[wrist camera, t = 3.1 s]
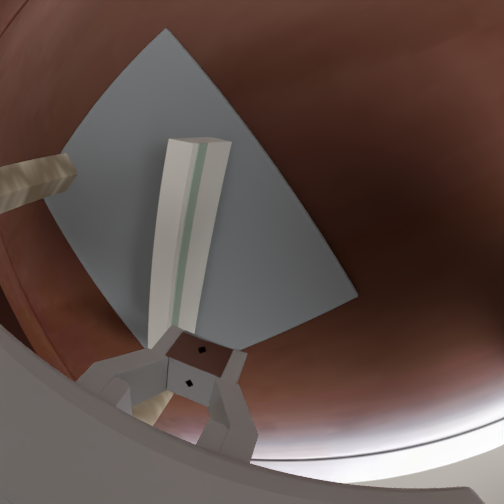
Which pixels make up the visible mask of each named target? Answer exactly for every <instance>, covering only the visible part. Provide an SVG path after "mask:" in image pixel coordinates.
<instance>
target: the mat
mask: <svg viewBox="0 0 504 504" xmlns="http://www.w3.org/2000/svg"><path fill="white" fill-rule="evenodd" d="M195 137H214V138H218V139H223V140H227V141H232V144H231V148H230V153H229V157H228V162H227V166H226V171H225V175H224V180H223V184H222V189H221V194H220V199H219V203H218V208H217V213H216V218H215V223H214V228H213V233H212V238H211V243H210V249H209V254H208V259H207V264H206V270H205V275H204V281H203V287H202V292H201V298H200V304H199V310H198V316H197V322H196V328H195V334H196V335H198V336H201V337H203V338H205V339H208V340H211V341H213V342H216V343H219V344H222V345H224V346H227V347H230V348H233V349H236V350H241V349H244V348H246V347H249V346H251V345H254V344H256V343H258V342H261V341H263V340H266V339H268V338H270V337H273V336H275V335H277V334H280V333H282V332H284V331H286V330H289V329H291V328H293V327H295V326H298V325H300V324H302V323H304V322H306V321H308V320H311V319H313V318H315V317H317V316H319V315H321V314H323V313H326V312H328V311H330V310H332V309H334V308H336V307H338V306H340V305H342V304H344V303H346V302H348V301H350V300H352V299H354V298H356V297H358V293H357V291H356V289H355V288H354V286H353V284H352V283H351V281H350V279H349V278H348V276H347V274H346V273H345V271H344V269H343V268H342V266H341V264H340V263H339V261H338V260H337V258H336V256H335V255H334V253H333V251H332V250H331V248H330V247H329V245H328V243H327V242H326V240H325V239H324V237H323V236H322V234H321V232H320V231H319V229H318V228H317V226H316V225H315V223H314V222H313V220H312V219H311V217H310V216H309V214H308V212H307V211H306V209H305V208H304V206H303V205H302V203H301V202H300V200H299V199H298V197H297V196H296V194H295V193H294V192H293V190H292V189H291V187H290V186H289V184H288V183H287V181H286V180H285V178H284V177H283V176H282V174H281V173H280V171H279V170H278V168H277V167H276V166H275V164H274V163H273V161H272V160H271V158H270V157H269V156H268V154H267V153H266V152H265V150H264V149H263V147H262V146H261V145H260V143H259V142H258V141H257V139H256V138H255V136H254V135H253V134H252V132H251V131H250V130H249V128H248V127H247V126H246V124H245V123H244V122H243V120H242V119H241V118H240V116H239V115H238V114H237V112H236V111H235V110H234V109H233V107H232V106H231V105H230V103H229V102H228V101H227V99H226V98H225V97H224V96H223V94H222V93H221V92H220V91H219V89H218V88H217V87H216V86H215V84H214V83H213V82H212V81H211V79H210V78H209V77H208V76H207V74H206V73H205V72H204V71H203V70H202V68H201V67H200V66H199V65H198V63H197V62H196V61H195V60H194V59H193V57H192V56H191V55H190V54H189V53H188V52H187V50H186V49H185V48H184V47H183V46H182V45H181V43H180V42H179V41H178V40H177V39H176V38H175V37H174V35H173V34H172V33H171V32H170V31H169V30H168V29H166V28H165V29H164V30H163V31H162V32H161V33H160V34H159V35H158V36H157V37H156V38H155V39H154V40H153V41H152V42H151V43H150V44H149V45H148V46H146V47H145V48H144V49H143V50H142V52H141V53H140V54H139V55H138V56H137V57H136V58H135V59H134V60H133V61H132V62H131V63H130V64H129V65H128V66H127V67H126V68H125V69H124V71H123V72H122V73H121V74H120V75H119V76H118V77H117V78H116V80H115V81H114V82H113V83H112V84H111V85H110V87H109V88H108V89H107V90H106V91H105V93H104V94H103V95H102V96H101V98H100V99H99V100H98V101H97V103H96V104H95V105H94V106H93V108H92V109H91V110H90V112H89V113H88V114H87V116H86V117H85V118H84V120H83V121H82V122H81V124H80V125H79V127H78V128H77V129H76V131H75V132H74V134H73V135H72V137H71V138H70V140H69V141H68V143H67V144H66V146H65V147H64V149H63V150H62V152H61V153H60V154H64V153H67V155H68V157H69V158H70V160H71V162H72V164H73V166H74V167H75V169H76V171H77V173H78V175H77V176H76V178H75V179H74V180H73V182H72V183H71V185H70V186H69V188H68V189H67V191H65V192H62V193H58V194H55V195H52V196H49V197H46V198H43V199H44V201H45V203H46V205H47V206H48V208H49V210H50V212H51V214H52V215H53V217H54V219H55V221H56V223H57V224H58V226H59V228H60V229H61V231H62V233H63V234H64V236H65V238H66V239H67V241H68V243H69V244H70V246H71V248H72V249H73V251H74V252H75V254H76V256H77V257H78V259H79V260H80V262H81V263H82V265H83V266H84V268H85V269H86V271H87V272H88V274H89V275H90V277H91V278H92V280H93V281H94V283H95V284H96V285H97V287H98V288H99V290H100V291H101V293H102V294H103V295H104V297H105V298H106V299H107V301H108V302H109V304H110V305H111V306H112V308H113V309H114V310H115V312H116V313H117V314H118V316H119V317H120V318H121V319H122V321H123V322H124V323H125V325H126V326H127V327H128V328H129V330H130V331H131V332H132V333H133V335H134V336H135V337H136V338H137V339H138V341H139V342H140V343H141V344H142V346H143V347H144V348H145V349H146V348H148V321H149V299H150V283H151V270H152V258H153V247H154V237H155V228H156V219H157V211H158V203H159V196H160V189H161V182H162V176H163V169H164V163H165V157H166V151H167V146H168V140H169V138H195Z"/></svg>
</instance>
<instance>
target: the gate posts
mask: <svg viewBox="0 0 504 504" xmlns="http://www.w3.org/2000/svg"><path fill="white" fill-rule="evenodd" d="M77 175H78V173H77V171H76V169H75V167H74V166H73V164H72V162H71V160H70V158H69V157H68V155H67V153H64V154H58V155H53V156H48V157H43V158H38V159H33V160H28V161H24V162H19V163H15V164H11V165H7V166H3V167H0V214H1V213H4V212H6V211H9V210H12V209H14V208H17V207H20V206H22V205H25V204H28V203H31V202H34V201H37V200H40V199H43V198H46V197H49V196H52V195H55V194H58V193H62V192H65V191H67V189H68V188H69V186H70V185H71V183H72V182H73V180H74V179H75V178H76V176H77ZM173 394H174V393H173V392H171V391H168V390H166V391H164V392H162V393H160V394H158V395H156V396H154V397H152V398H150V399H148V400H146V401H144V402H141V403H139V404H137V405H135V406H133V407H132V416H133V417H135V418H137V419H139V420H141V421H143V422H145V423H147V424H149V425H151V426H153V425H154V423H155V422H156V420H157V419H158V417H159V416H160V414H161V412H162V411H163V409H164V408H165V406H166V405H167V403H168V402H169V400H170V399H171V397H172V396H173Z"/></svg>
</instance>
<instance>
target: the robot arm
mask: <svg viewBox="0 0 504 504" xmlns="http://www.w3.org/2000/svg"><path fill="white" fill-rule="evenodd" d="M246 358H247V353H245V352H242V351H239V350H236V349H233V348H230V347H227V346H224V345H222V344H219V343H216V342H213V341H211V340H208V339H205V338H203V337H201V336H198V335H196V334H193V333H191V332H189V331H186V330H183V329H181V328H179V327H176V326H174V325H172V326H170V327H169V328H168V330H167V331H166V332H165V333H164V334H163V336H162V337H161V338H160V339H159V340H158V342H157V343H156V344H155V345H154V347H153V348H152V349H149V348H146V349H142V350H139V351H135V352H132V353H128V354H125V355H121V356H117V357H114V358H110V359H106V360H102V361H99V362H95V363H93V364H92V365H91V366H90V367H89V369H88V370H87V371H86V372H85V373H84V374H83V375H82V376H81V377H80V378H79V379H78V380H77V381H76V382H74V381H72V380H71V379H69V378H68V377H66V376H65V375H63V374H62V373H61V372H59V371H58V370H56V369H55V368H54V367H52V366H51V365H49V364H48V363H47V362H45V361H44V360H43V359H41V358H40V357H39V356H38V355H36V354H35V353H34V352H32V351H31V350H30V349H29V348H27V347H26V346H25V345H24V344H23V343H21V342H20V341H19V340H18V339H17V338H15V337H14V336H13V335H12V334H11V333H10V332H8V331H7V330H6V329H5V328H4V327H3V326H2V325H1V324H0V504H485V503H484V502H483V501H482V500H481V499H480V497H479V496H478V495H477V494H476V493H475V492H474V491H473V490H472V489H471V488H470V487H466V486H462V487H447V488H419V489H418V488H384V487H371V486H360V485H351V484H343V483H336V482H330V481H323V480H318V479H312V478H307V477H302V476H297V475H293V474H288V473H284V472H280V471H276V470H272V469H268V468H264V467H260V466H257V465H253V464H250V460H251V457H252V454H253V451H254V447H255V444H256V441H257V438H258V433H257V430H256V428H255V425H254V423H253V420H252V417H251V415H250V412H249V410H248V407H247V404H246V402H245V399H244V396H243V394H242V391H241V388H240V385H238V381H239V378H240V375H241V372H242V370H243V367H244V364H245V361H246ZM166 390H168V391H171V392H173V393H176V394H178V395H181V396H183V397H186V398H188V399H190V400H193V401H195V402H197V403H200V404H202V405H204V406H207V407H208V411H209V416H210V421H208V422H207V424H206V426H205V428H204V430H203V432H202V434H201V436H200V438H199V440H198V442H197V444H196V445H195V444H192V443H190V442H187V441H185V440H182V439H180V438H178V437H175V436H173V435H171V434H168V433H166V432H164V431H162V430H160V429H158V428H155V427H153V426H151V425H149V424H147V423H145V422H143V421H141V420H139V419H137V418H135V417H133V416H132V407H133V406H135V405H137V404H139V403H141V402H144V401H146V400H148V399H150V398H152V397H154V396H156V395H158V394H160V393H162V392H164V391H166Z"/></svg>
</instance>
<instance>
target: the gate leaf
mask: <svg viewBox="0 0 504 504" xmlns="http://www.w3.org/2000/svg"><path fill="white" fill-rule="evenodd" d="M231 144H232V141H227V140H223V139H218V138H214V137H195V138H169V140H168V146H167V151H166V157H165V163H164V169H163V176H162V182H161V189H160V196H159V203H158V211H157V219H156V228H155V237H154V247H153V258H152V270H151V283H150V299H149V321H148V348H149V349H152V348H153V347H154V345H155V344H156V343H157V342H158V340H159V339H160V338H161V337H162V336H163V334H164V333H165V332H166V331H167V330H168V328H169V327H170V326H172V325H174V326H176V327H179V328H181V329H183V330H186V331H189V332H191V333H193V334H195V328H196V322H197V316H198V310H199V304H200V298H201V292H202V287H203V281H204V275H205V270H206V264H207V259H208V254H209V249H210V243H211V238H212V233H213V228H214V223H215V218H216V213H217V208H218V203H219V199H220V194H221V189H222V184H223V180H224V175H225V171H226V166H227V162H228V157H229V153H230V148H231Z"/></svg>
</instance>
